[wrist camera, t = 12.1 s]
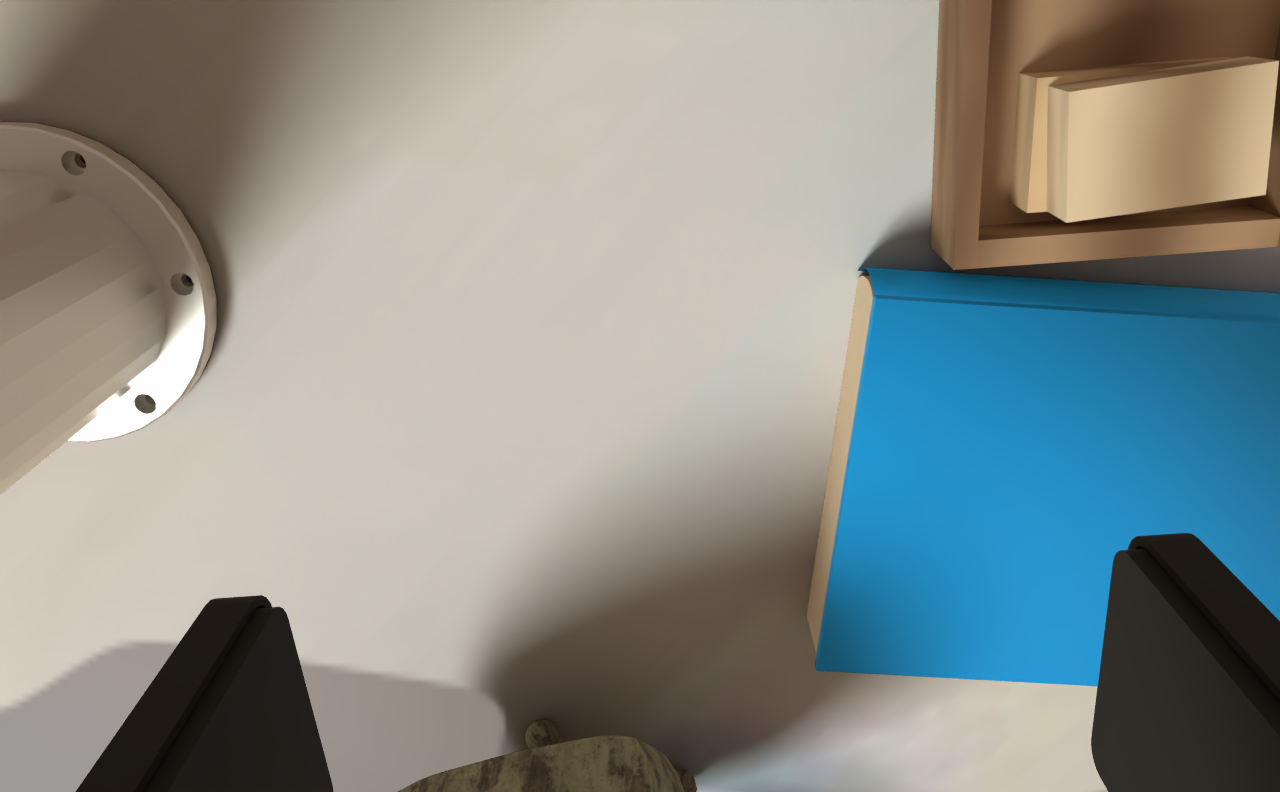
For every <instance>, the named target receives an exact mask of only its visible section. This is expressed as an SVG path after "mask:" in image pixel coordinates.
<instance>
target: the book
mask: <svg viewBox="0 0 1280 792" xmlns="http://www.w3.org/2000/svg"><path fill="white" fill-rule="evenodd" d="M858 271H868V272H869V275H870V276H860V277H859V278H858V281H857V288H856V295H855V301H854V308H853V314H852V321H851V327H850V334H849V340H848V347H847V354H846V360H845V367H844V373H843V380H842V386H841V393H840V399H839V406H838V413H837V419H836V426H835V432H834V439H833V445H832V452H831V458H830V465H829V472H828V478H827V485H826V491H825V498H824V504H823V511H822V517H821V524H820V531H819V537H818V544H817V550H816V557H815V563H814V570H813V576H812V583H811V590H810V596H809V603H808V609H807V619H808V623H809V627H810V631H811V636H812V640H813V644H814V648H815V652H816V660H815V666H816V670H817V671H832V672H850V673H868V674H886V675H904V676H922V677H940V678H958V679H976V680H994V681H1012V682H1030V683H1048V684H1066V685H1084V686H1098V680H1099V672H1100V664H1101V655H1102V647H1103V639H1104V631H1105V622H1106V614H1107V606H1108V598H1109V590H1110V581H1111V573H1112V565H1113V560H1114V556H1115V555H1116V553H1117V552H1118V551H1120V550H1128V547H1129V544H1130V542H1131V541H1132V539H1133V538H1135V537H1137V536H1146V535H1161V534H1176V533H1191V534H1193V535H1195V536H1196V537H1197V538H1199V539H1200V540H1201V541H1202V542H1203V543H1204V544H1205V545H1206V546H1207V547H1208V548H1209V549H1210V550H1211V551H1212V553H1213V554H1214V555H1215V556H1216V557H1217V558H1218V559H1219V560H1220V561H1221V562H1222V563H1223V564H1224V565H1225V566H1226V567H1227V568H1228V569H1229V570H1230V571H1231V572H1232V573H1233V574H1234V575H1235V576H1236V577H1237V578H1238V579H1239V580H1240V581H1241V582H1242V583H1243V584H1244V585H1245V586H1246V587H1247V588H1248V589H1249V590H1250V591H1251V592H1252V593H1253V594H1254V595H1255V596H1256V597H1257V598H1258V599H1259V600H1260V601H1261V602H1262V603H1263V604H1264V605H1265V606H1266V607H1267V609H1268V610H1269V611H1270V612H1271V613H1272V614H1273V615H1274V616H1275V617H1276V618H1277V619H1278V620H1279V621H1280V293H1267V292H1251V291H1235V290H1219V289H1203V288H1187V287H1171V286H1155V285H1139V284H1123V283H1107V282H1091V281H1075V280H1059V279H1043V278H1027V277H1010V276H994V275H978V274H962V273H946V272H930V271H914V270H898V269H882V268H866V267H861V268H860V269H859V270H858ZM872 295H873V296H872Z"/></svg>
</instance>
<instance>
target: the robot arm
mask: <svg viewBox="0 0 1280 792" xmlns="http://www.w3.org/2000/svg"><path fill="white" fill-rule="evenodd" d="M81 155H82V156H83V158H84V160H85V162H86V165H85V164H84V163H83V162H82V160H81ZM186 275H187V276H189V277H190V278H191V279H192V281H193V283H191V282H189V281H188V280H187V278H186ZM216 327H217V321H216V294H215V289H214V284H213V280H212V275H211V270H210V267H209V264H208V262H207V259H206V257H205V254H204V252H203V249H202V247H201V245H200V242H199V240H198V238H197V236H196V234H195V233H194V231H193V230H192V228H191V226H190V225H189V223H188V222H187V220H186V218H185V217H184V215H183V213H182V212H181V210H180V209H179V208H178V207H177V206H176V205H175V203H174V202H173V201H172V200H171V199H170V198H169V196H168V195H167V194H166V193H165V192H164V191H163V190H162V188H161V187H160V186H159V185H158V184H157V183H156V182H155V181H154V180H152V179H151V178H150V177H149V176H148V175H146V174H145V173H144V172H143V171H142V170H140V169H139V168H138V167H137V166H136V165H134V164H133V163H132V162H131V161H129V160H128V159H126V158H124V157H123V156H121V155H119V154H118V153H116V152H114V151H113V150H111V149H109V148H108V147H106V146H104V145H103V144H101V143H99V142H97V141H94V140H92V139H89V138H87V137H84V136H82V135H79V134H77V133H74V132H72V131H69V130H66V129H61V128H56V127H52V126H47V125H42V124H37V123H22V122H0V495H1V494H2V493H3V492H5V491H6V490H7V489H8V488H9V487H11V486H12V485H13V484H14V483H16V482H17V481H18V480H19V479H21V478H22V477H23V476H24V475H26V474H27V473H28V472H29V471H30V470H32V469H33V468H34V467H35V466H37V465H38V464H39V463H40V462H42V461H43V460H44V459H45V458H47V457H48V456H49V455H50V454H52V453H53V452H54V451H55V450H56V449H58V448H59V447H60V446H61V445H63V444H64V443H65V442H94V441H100V440H107V439H113V438H119V437H121V436H124V435H127V434H130V433H132V432H135V431H138V430H140V429H143V428H145V427H147V426H148V425H150V424H151V423H153V422H154V421H156V420H158V419H159V418H161V417H162V416H164V415H165V414H167V413H168V412H169V411H170V410H171V409H172V408H173V407H174V406H176V405H177V404H178V403H179V402H180V401H181V400H182V399H183V398H184V397H185V396H186V395H187V393H188V392H189V391H190V390H191V388H192V387H193V386H194V384H195V383H196V382H197V381H198V379H199V378H200V376H201V374H202V372H203V370H204V368H205V366H206V363H207V361H208V359H209V357H210V355H211V351H212V346H213V342H214V337H215V332H216ZM1091 746H1092V754H1093V759H1094V763H1095V766H1096V769H1097V771H1098V773H1099V776H1100V777H1101V779H1102V781H1103V783H1104V785H1105V786H1106V788H1107V790H1108V792H1280V621H1279V620H1278V619H1277V618H1276V617H1275V616H1274V615H1273V614H1272V613H1271V612H1270V611H1269V610H1268V609H1267V607H1266V606H1265V605H1264V604H1263V603H1262V602H1261V601H1260V600H1259V599H1258V598H1257V597H1256V596H1255V595H1254V594H1253V593H1252V592H1251V591H1250V590H1249V589H1248V588H1247V587H1246V586H1245V585H1244V584H1243V583H1242V582H1241V581H1240V580H1239V579H1238V578H1237V577H1236V576H1235V575H1234V574H1233V573H1232V572H1231V571H1230V570H1229V569H1228V568H1227V567H1226V566H1225V565H1224V564H1223V563H1222V562H1221V561H1220V560H1219V559H1218V558H1217V557H1216V556H1215V555H1214V554H1213V553H1212V551H1211V550H1210V549H1209V548H1208V547H1207V546H1206V545H1205V544H1204V543H1203V542H1202V541H1201V540H1200V539H1199V538H1197V537H1196V536H1195V535H1193V534H1191V533H1176V534H1161V535H1146V536H1137V537H1135V538H1133V539H1132V541H1131V542H1130V544H1129V547H1128V550H1120V551H1118V552H1117V553H1116V555H1115V556H1114V560H1113V565H1112V573H1111V581H1110V590H1109V598H1108V606H1107V614H1106V622H1105V631H1104V639H1103V647H1102V655H1101V664H1100V672H1099V680H1098V688H1097V696H1096V705H1095V713H1094V721H1093V729H1092V739H1091ZM76 792H333V786H332V782H331V778H330V775H329V770H328V767H327V763H326V759H325V755H324V751H323V748H322V744H321V740H320V737H319V733H318V729H317V725H316V721H315V718H314V714H313V710H312V707H311V703H310V699H309V695H308V692H307V687H306V684H305V680H304V676H303V673H302V669H301V665H300V661H299V657H298V654H297V650H296V646H295V642H294V639H293V635H292V631H291V627H290V623H289V620H288V617H287V614H286V612H285V611H284V609H283V608H281V607H272V606H271V603H270V602H269V600H268V599H267V598H266V597H264V596H262V595H261V596H246V597H232V598H217V599H213V600H210V601H209V602H208V603H207V604H206V605H205V607H204V608H203V610H202V611H201V612H200V614H199V615H198V617H197V618H196V620H195V621H194V623H193V624H192V625H191V627H190V628H189V630H188V631H187V633H186V634H185V635H184V637H183V638H182V640H181V641H180V643H179V644H178V646H177V647H176V648H175V650H174V651H173V653H172V654H171V656H170V657H169V658H168V660H167V661H166V663H165V664H164V666H163V667H162V669H161V670H160V671H159V673H158V674H157V676H156V677H155V679H154V680H153V681H152V683H151V684H150V686H149V687H148V689H147V690H146V691H145V693H144V695H143V696H142V697H141V699H140V700H139V702H138V703H137V704H136V706H135V707H134V709H133V710H132V712H131V713H130V714H129V716H128V717H127V719H126V720H125V722H124V723H123V725H122V726H121V728H120V729H119V730H118V732H117V733H116V735H115V736H114V737H113V739H112V740H111V742H110V743H109V745H108V746H107V748H106V749H105V750H104V752H103V753H102V755H101V756H100V758H99V759H98V760H97V762H96V763H95V765H94V766H93V768H92V769H91V771H90V772H89V773H88V775H87V776H86V778H85V779H84V781H83V782H82V784H81V785H80V786H79V788H78V789H77V791H76Z"/></svg>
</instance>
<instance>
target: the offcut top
mask: <svg viewBox="0 0 1280 792" xmlns="http://www.w3.org/2000/svg"><path fill="white" fill-rule="evenodd" d="M1278 66H1279V61H1277V60H1270V59H1262V58H1255V57H1248V56H1246V57H1239V58H1233V59H1226V60H1219V61H1212V62H1206V63H1199V64H1192V65H1186V66H1179V67H1172V68H1166V69H1159V70H1152V71H1145V72H1139V73H1132V74H1125V75H1119V76H1112V77H1105V78H1099V79H1092V80H1085V81H1078V82H1072V83H1065V84H1058V85H1052V86H1048V112H1047V193H1046V211H1047V212H1049V213H1051V214H1052V215H1054V216H1056V217H1057V218H1059V219H1061V220H1062V221H1064V222H1066V223H1068V222H1076V221H1083V220H1090V219H1097V218H1104V217H1111V216H1118V215H1126V214H1133V213H1140V212H1147V211H1154V210H1161V209H1168V208H1175V207H1183V206H1190V205H1197V204H1204V203H1211V202H1218V201H1225V200H1232V199H1240V198H1247V197H1254V196H1261V195H1266V188H1267V178H1268V168H1269V158H1270V147H1271V137H1272V127H1273V117H1274V107H1275V97H1276V87H1277V76H1278Z"/></svg>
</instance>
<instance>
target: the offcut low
mask: <svg viewBox="0 0 1280 792" xmlns="http://www.w3.org/2000/svg"><path fill="white" fill-rule="evenodd" d="M1226 59H1233V58H1229V57H1217V58H1204V59H1191V60H1179V61H1166V62H1153V63H1141V64H1128V65H1115V66H1103V67H1090V68H1077V69H1065V70H1052V71H1039V72H1027V73H1019V76H1018V91H1017V105H1016V120H1015V134H1014V149H1013V163H1012V178H1011V192H1010V203H1012V204H1014V205H1015V206H1017V207H1018V208H1020V209H1021V210H1023V211H1025V212H1026V213H1036V212H1047V211H1046V193H1047V112H1048V86H1052V85H1058V84H1065V83H1072V82H1078V81H1085V80H1092V79H1099V78H1105V77H1112V76H1119V75H1125V74H1132V73H1139V72H1145V71H1152V70H1159V69H1166V68H1172V67H1179V66H1186V65H1192V64H1199V63H1206V62H1212V61H1219V60H1226Z"/></svg>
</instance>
